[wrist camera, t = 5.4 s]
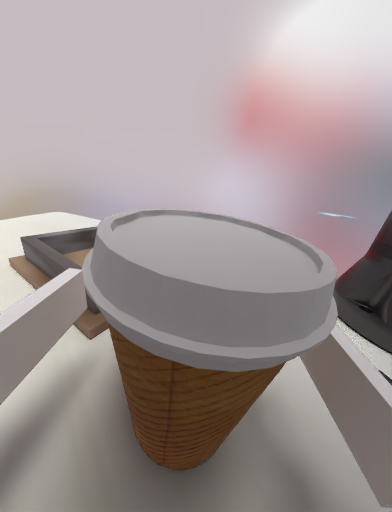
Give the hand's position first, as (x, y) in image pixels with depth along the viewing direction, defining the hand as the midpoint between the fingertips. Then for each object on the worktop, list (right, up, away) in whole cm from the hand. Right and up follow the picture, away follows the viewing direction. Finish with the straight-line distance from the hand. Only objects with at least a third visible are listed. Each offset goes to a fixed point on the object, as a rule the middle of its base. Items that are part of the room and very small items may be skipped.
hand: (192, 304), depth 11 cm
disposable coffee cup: (-1, -7, +1) cm, 7 cm away
